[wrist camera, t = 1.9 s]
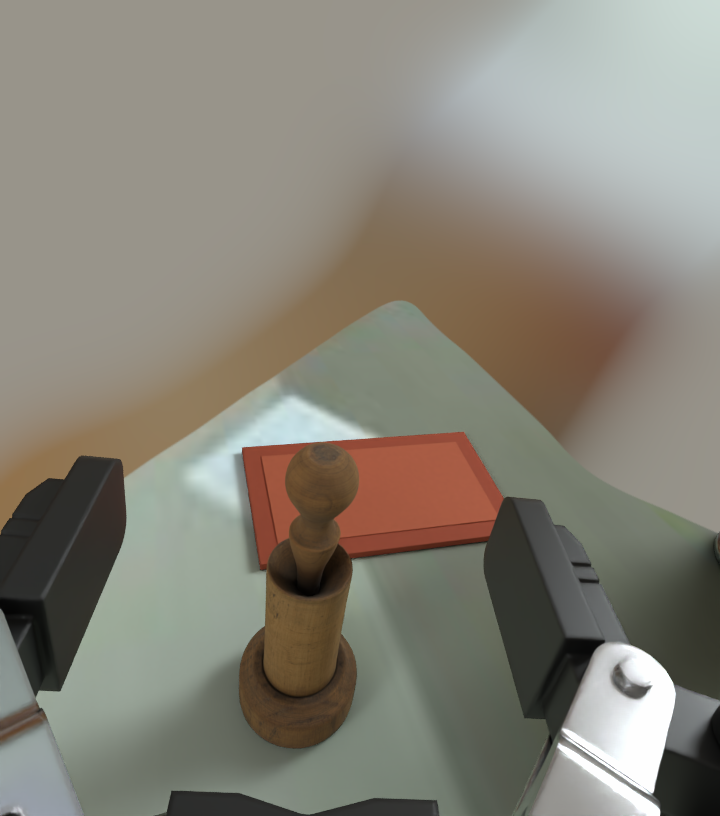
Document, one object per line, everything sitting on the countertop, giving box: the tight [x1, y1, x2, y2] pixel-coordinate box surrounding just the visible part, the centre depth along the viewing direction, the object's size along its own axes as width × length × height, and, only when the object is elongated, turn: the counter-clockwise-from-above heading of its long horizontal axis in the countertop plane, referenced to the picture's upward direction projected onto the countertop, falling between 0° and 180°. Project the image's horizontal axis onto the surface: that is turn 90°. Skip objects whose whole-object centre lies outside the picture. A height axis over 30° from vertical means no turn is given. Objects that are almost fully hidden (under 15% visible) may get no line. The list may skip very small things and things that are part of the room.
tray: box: [242, 432, 504, 570], centre depth 47 cm, size 20×12×1 cm, turn 105°
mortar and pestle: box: [239, 442, 359, 748], centre depth 29 cm, size 7×6×18 cm
